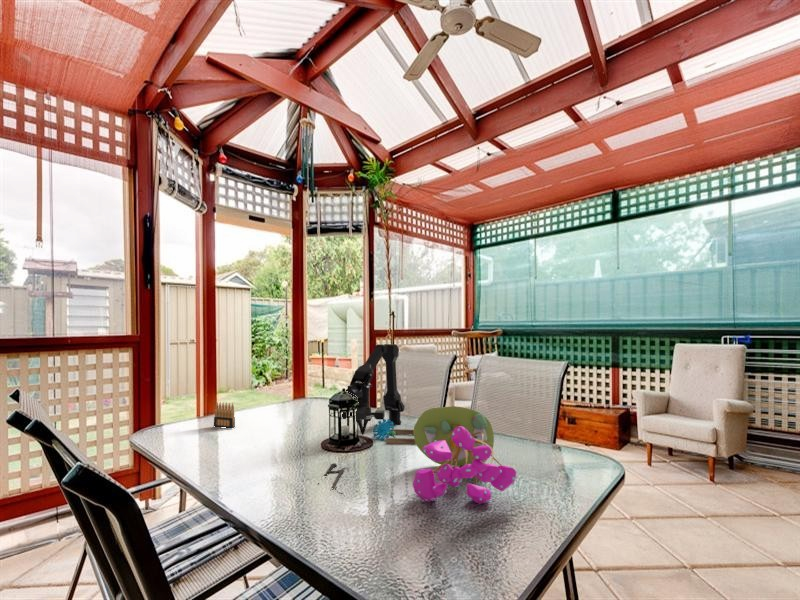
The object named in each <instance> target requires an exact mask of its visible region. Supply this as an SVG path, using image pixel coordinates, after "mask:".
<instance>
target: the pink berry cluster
mask: <svg viewBox="0 0 800 600" xmlns="http://www.w3.org/2000/svg"><path fill="white" fill-rule="evenodd" d="M413 430H414V431H413V433H414V435H413V438H414V439H415V443H416V444H415V445H416V447H417V448H418V450H420V452H422V454H423V455H424V456H425V457H426V458H427V459H429V460H431V461H432V462H434V463H435V464H439V465H437V467H435V468H434V469H432V468H424V469H423V468H419V469H418V470H417V471H415V475H414V479H413V480H412V488H413V490H414V493H415V494H416V495H417V497H418V498H419V499H420V500H422V501H424V502H427V503H432V502H436V501H437V499H439V500H441V499H442V498H443V496H445V494H446V493H447V491H448V486H450V487H457V488H459V487H460V485H461V483H462V481H463V479H473V478H474V477H475V484H472V483H469V482H467V484H466V496H467V497H468V498H469V499H470V500H471V501H473V502H475V503H477V504H478V505H481V504H486V503H489V501H490V500H491V498H492V494H493V491H491V490H490V489H489V488H488V487H484V486H482V485H481V486H480V485H479V484H478V479H479V480H480V482H483V483H485V484H488V483H490V485H491V486H492V487H493V488H495V489H496V490H498V491H500V492H504V491H505V490H506V489H508V488H509V487H510V486H511V485H514V484H515V481H516V479H517V471H516V470H515V469H514V468H513V467H510V466H508V465H502V464H501V463H500V461H498V460H497V459H496V458H495V457H494V455H495V453H494V445H495V444H494V443H495V441H494V440H495V437H494V430H493V427H492V424H491V422H490V420H489V419H487V417H486V416H485V415H484V414H483V413H481V412H478V410H474V409H470V408H468V407H467V408H466V407H464V406H463V407H462V406H453V405H452V406H440V407H431V408H429V409H427V410H424V411H423V412H422V414H421V415H419V417H418V418H417V421H416V422H415V424H414V426H413ZM490 457H491V460H490V463H487V460H488V459H490ZM493 460H494V461H495V462H496V463H497V464H498V465H495V464H494V463H493ZM435 474H436V477H437V479H438V480H439V482H436V477H435ZM431 501H432V502H431Z"/></svg>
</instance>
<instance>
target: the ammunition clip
mask: <svg viewBox="0 0 800 600" xmlns="http://www.w3.org/2000/svg"><path fill="white" fill-rule="evenodd" d="M214 426H215V427H226V428H234V427H235V428H236V417H235V405H234V403H233V402H232V403H230V402H229V403H228V402H226V403H225V402H222V403H221V401H220V402H218V401H217V402H216V404H215V410H214V416H213V427H214ZM235 428H234V429H235Z"/></svg>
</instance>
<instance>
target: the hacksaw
mask: <svg viewBox="0 0 800 600" xmlns="http://www.w3.org/2000/svg"><path fill="white" fill-rule="evenodd" d="M335 467H336V468H337V467H338V465H337V463H335V462H333V463H331V464H330V467H329V468H328V469H327V470H326V473H323V476H328V475H329V474H337V473H336V472H338V474H337V476H336V478H335V480H334V482H333V484H332V485H333V486H331V488H333V489H332V490H334V491H335V490H336V491H337V488H338V486H337V484H338V483H339V481H340V479H341V478H342V476H343V475H344V472H345V470H346V467H343V468H341V469H338V470H334V469H335ZM333 468H334V469H333ZM332 469H333V470H332ZM347 469H348V470H350V467H347ZM331 470H332V471H331ZM327 474H328V475H327ZM341 475H342V476H341ZM340 477H341V478H340ZM339 478H340V479H339ZM335 487H336V488H335ZM338 492H339V491H338ZM338 494H340V495H342V494H343V495H344V493H342V492H339V493H338Z"/></svg>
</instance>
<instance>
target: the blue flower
mask: <svg viewBox="0 0 800 600" xmlns="http://www.w3.org/2000/svg"><path fill="white" fill-rule="evenodd" d="M377 421H378V422H377V423H378V424H375V425H374V428H373V429H372V432H373V437H374V438H376V440H378V441H379V440H381V441H384V440H385V438H386V439H387V438H390V437H391V438H397V437H396V436H395V435H397V434H396V433H395V431H390V429H392V430H394V429H395V426H394V424H393V422H391V421H390V420H389V418H388V419H386V418H384V419H382V421H381V420H377ZM389 422H390V423H389ZM388 423H389V424H388Z"/></svg>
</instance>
